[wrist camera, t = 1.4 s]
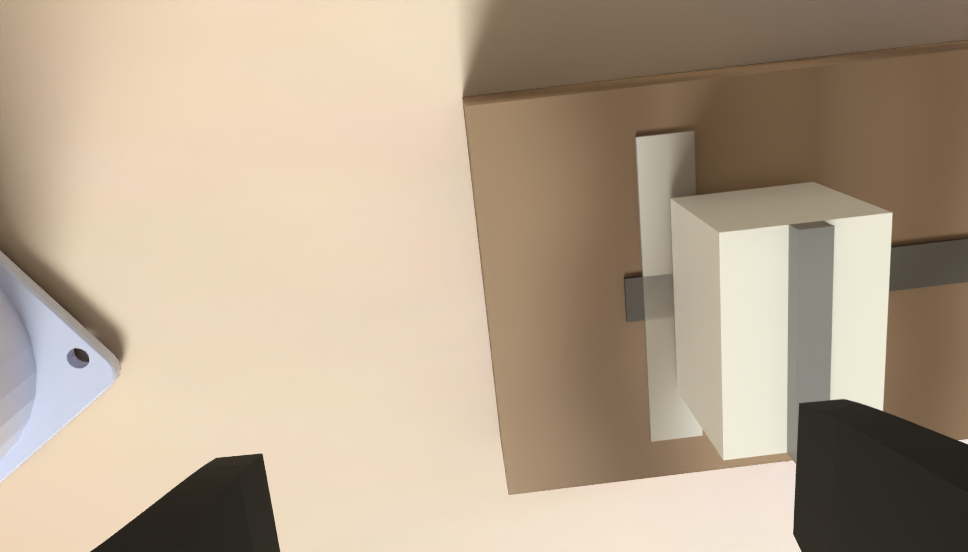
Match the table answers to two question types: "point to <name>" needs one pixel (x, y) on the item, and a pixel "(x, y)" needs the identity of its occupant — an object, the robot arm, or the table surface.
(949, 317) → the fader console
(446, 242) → the table surface
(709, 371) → the fader knob
